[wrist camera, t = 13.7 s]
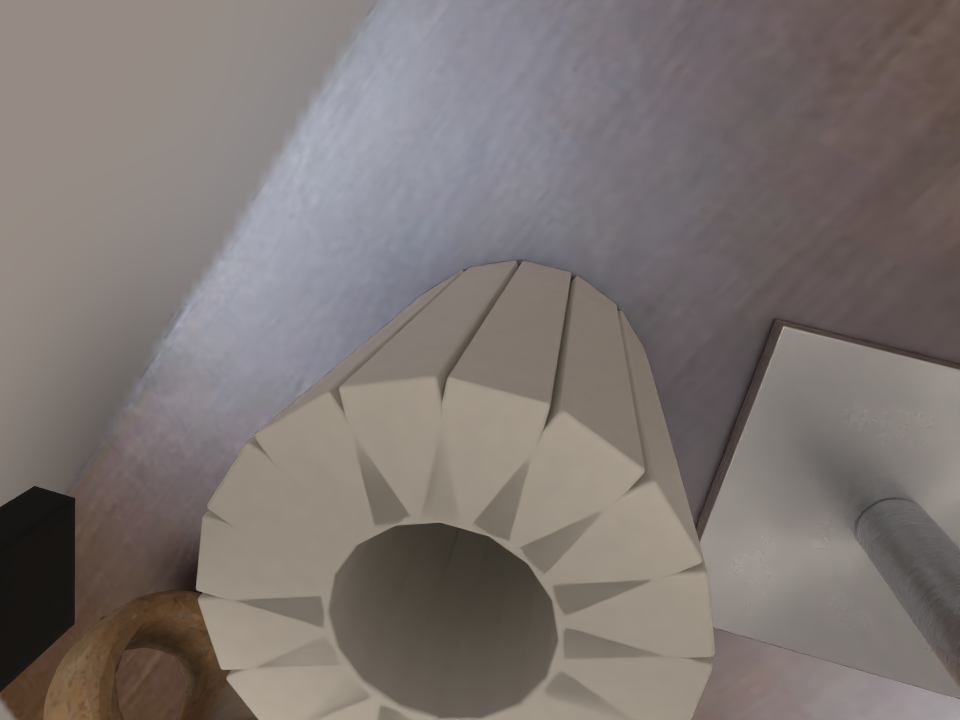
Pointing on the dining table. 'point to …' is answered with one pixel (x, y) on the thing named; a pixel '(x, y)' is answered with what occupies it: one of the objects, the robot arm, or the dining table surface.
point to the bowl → (144, 624)
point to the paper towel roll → (465, 524)
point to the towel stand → (842, 508)
